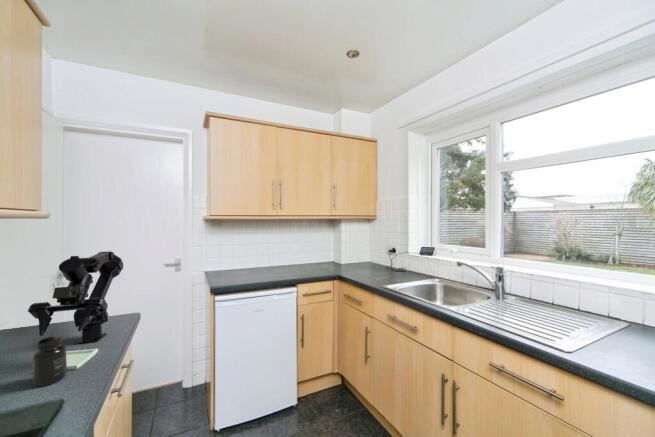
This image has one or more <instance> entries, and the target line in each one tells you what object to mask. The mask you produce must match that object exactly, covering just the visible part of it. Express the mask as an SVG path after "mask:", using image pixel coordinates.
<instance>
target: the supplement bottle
mask: <svg viewBox="0 0 655 437" xmlns="http://www.w3.org/2000/svg"><path fill="white" fill-rule="evenodd" d="M36 345H37V347H36V348H37V351H36V352H34V353H33V355H32V373H33V374H32V375H33V376H32V377H33V385H34V386H35V387H38V388H39V387H46V386H51V385H53V384H56V383H58V382H60V381H62V380H63V379H65V378H66V376H67V374H68V370H67V360H66V351H67V348H66V347H67V346H65V345H64V344H62V336H59V335H55V336H49V337H46V338H42V339H41V340H39V341H37V344H36Z"/></svg>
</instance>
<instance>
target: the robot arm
mask: <svg viewBox="0 0 655 437" xmlns="http://www.w3.org/2000/svg"><path fill="white" fill-rule="evenodd" d="M58 270H59V271H60V273H61V274H62V275H63V277H64V278H65V280H66V281H68V282H69V283H68V285H67V286H62V287H61V286H60V287H54V290H53V292H52V299H56V303H58V305H51V303H50V302H49V301H43V302H34V303H31V305H30V306H29V307H28V309H27V312H28V313H29V314H30V315H31V316H32V317H33V318H34V319H37V320H38V328H39V329H38V330H39V331H38V332H39V336H40V337H43V336H44V335H45V333H46V332H47V330H48V328H49V326H50V324H51V322H52V319H53V318H52V316H53V315H54V313H55V312H56V313H58V312H66V311H74V314H73V321H74V325H75V327H76V328H77V327H78V329H77V332H79V333H80V332H81V339H80V340H78V341H77V344H85V343H97V342H99V341H100V340H101V339H103V338H104V337H106V336H107V332H105V333H103V324H105V323H107V322H108V321H109V313H108V311H107V309H108V303H107V301H106V299H105V298H106V297H107V293H108V291H109V289H110V286H111V284H112V282H113V280H114V279H115V278H116V277H118V276H119V275H120V274H121V272H122V270H124V262H123V259H122V258H121V257H120V256H118V255H116V254H115V253H114V252H113V251H100V252H97V254H94V255H92V256H88V257H80V256H79V255H71V256H70V258H67V259H66V260H63V261H62V262H60V263H59V266H58ZM94 273H96V274H97V273H99V275H98V276H99V277H98V279H97V280H96V282H95V284H94V287H93V289H92V290H91V293H90V295H89V294H88V292H89V290H90V287H91V284H93V283H94V281H93V278H94V277H93V275H92V274H94ZM88 297H89V298H88ZM86 298H87V299H86Z"/></svg>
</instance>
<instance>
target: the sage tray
mask: <svg viewBox="0 0 655 437" xmlns="http://www.w3.org/2000/svg"><path fill="white" fill-rule="evenodd" d="M98 353H99V348H90V349H80V350H69V351H67V350H66V360H67V371H73V370H76V371H77V370H78V369H79V368H81V367H82V366H83V365H84V364H85V363H86V362H88V361H89V360H90V359H91V358H93V357H94V356H95V355H96V354H98Z"/></svg>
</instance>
